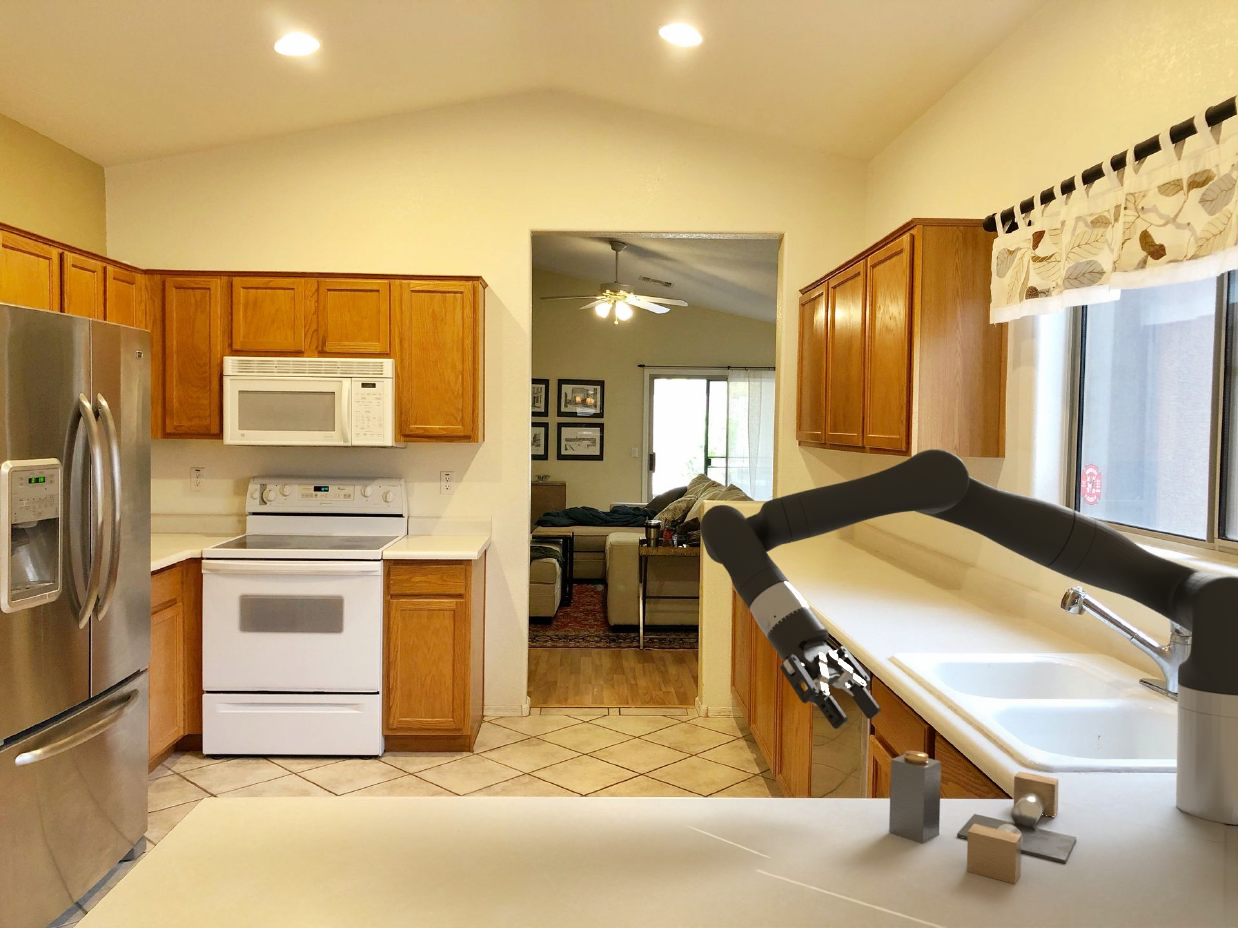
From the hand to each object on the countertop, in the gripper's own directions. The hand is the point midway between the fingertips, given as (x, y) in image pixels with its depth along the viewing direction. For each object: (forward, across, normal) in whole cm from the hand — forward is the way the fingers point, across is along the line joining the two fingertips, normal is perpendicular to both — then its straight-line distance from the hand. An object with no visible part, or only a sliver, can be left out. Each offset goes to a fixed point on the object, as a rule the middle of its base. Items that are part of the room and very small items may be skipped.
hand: (859, 719), depth 114 cm
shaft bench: (+21, +8, -3) cm, 23 cm away
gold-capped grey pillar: (+14, 0, +3) cm, 15 cm away
